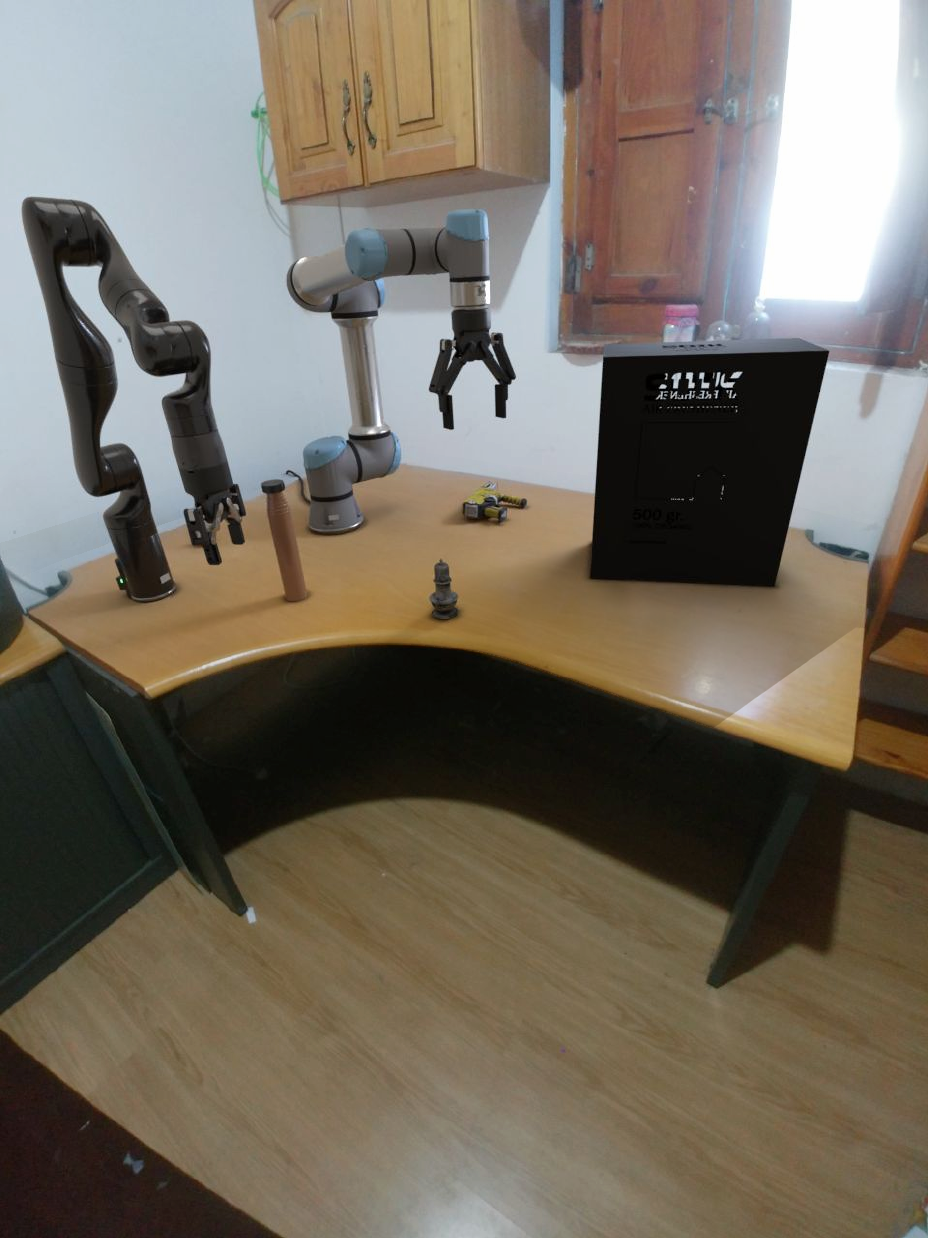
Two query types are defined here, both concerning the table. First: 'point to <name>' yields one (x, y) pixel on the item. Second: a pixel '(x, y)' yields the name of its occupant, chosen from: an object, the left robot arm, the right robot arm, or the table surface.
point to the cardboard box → (701, 458)
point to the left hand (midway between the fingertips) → (227, 553)
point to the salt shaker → (443, 593)
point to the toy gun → (489, 503)
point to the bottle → (286, 546)
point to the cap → (273, 486)
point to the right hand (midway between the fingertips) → (475, 422)
